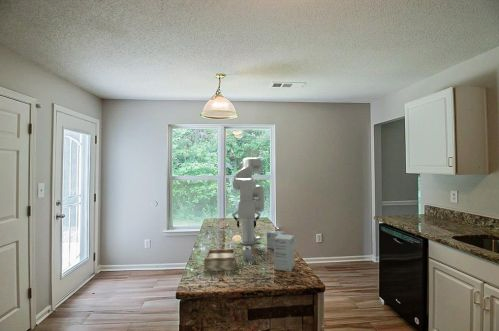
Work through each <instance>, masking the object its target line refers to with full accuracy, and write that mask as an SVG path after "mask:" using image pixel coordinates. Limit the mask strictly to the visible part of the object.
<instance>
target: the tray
mask: <svg viewBox="0 0 499 331" xmlns="http://www.w3.org/2000/svg"><path fill="white" fill-rule="evenodd" d="M218 270H219V271H236V248H229V249H227V248H225V249H223V248H221V249H219V248H217V249H207V252H206V254H205V257H204V271H205V272H211V271H212V272H213V271H215V272H216V271H218Z"/></svg>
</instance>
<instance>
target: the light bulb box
mask: <svg viewBox="0 0 499 331" xmlns="http://www.w3.org/2000/svg"><path fill="white" fill-rule="evenodd" d="M278 234H283V235H285V231H281V230H280V231H279V230H268V231H267V232H266V248H267V249H273V250H274V238H275V237H276V236H277V235H278Z"/></svg>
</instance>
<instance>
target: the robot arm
mask: <svg viewBox="0 0 499 331" xmlns="http://www.w3.org/2000/svg"><path fill="white" fill-rule="evenodd" d="M262 162H263V161H262V160H261V158H260V157H245V158H243V159H242V161H241V162H240V163H238V170H237V172H236V173H234V176H233V179H232V180H233V182H232V187H233V190H235V191H239V201H238V206H237V207H238V208H237V211H235V212H233V213H232V214H231V215H232V217H233V219H234V220H235V221H236V227H237V229H240V220H241V239H240V240H239V243H240V244H242V245H255V244H257V243H258V240H259V241H261V240H262V236H256V227H257V221H258V220H259V219H260V217H261V213H262V212H263V211H264V210H265V195H264V194H265V192H264V187H263V185H260V184H257V183H256V180H255V179H254V177H253V175H254V173H255V174H256V173H257V174H259V173H261V172H262V169H263V163H262ZM236 215H237V216H238V217H236ZM255 215H257V216H255Z"/></svg>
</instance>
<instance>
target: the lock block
mask: <svg viewBox="0 0 499 331" xmlns="http://www.w3.org/2000/svg"><path fill="white" fill-rule="evenodd" d="M243 259H245V261H246V260H247V261H248V260H252V246H249V245H242V260H243Z"/></svg>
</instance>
